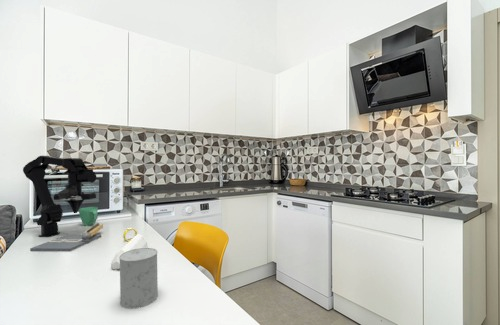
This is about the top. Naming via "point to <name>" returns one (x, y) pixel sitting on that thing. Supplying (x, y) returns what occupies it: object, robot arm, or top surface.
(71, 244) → the panel
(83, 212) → the mug
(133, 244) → the white long bar
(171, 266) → the top surface
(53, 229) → the robot arm
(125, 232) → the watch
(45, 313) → the top surface
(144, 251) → the grey concrete cylinder
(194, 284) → the top surface
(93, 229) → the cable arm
